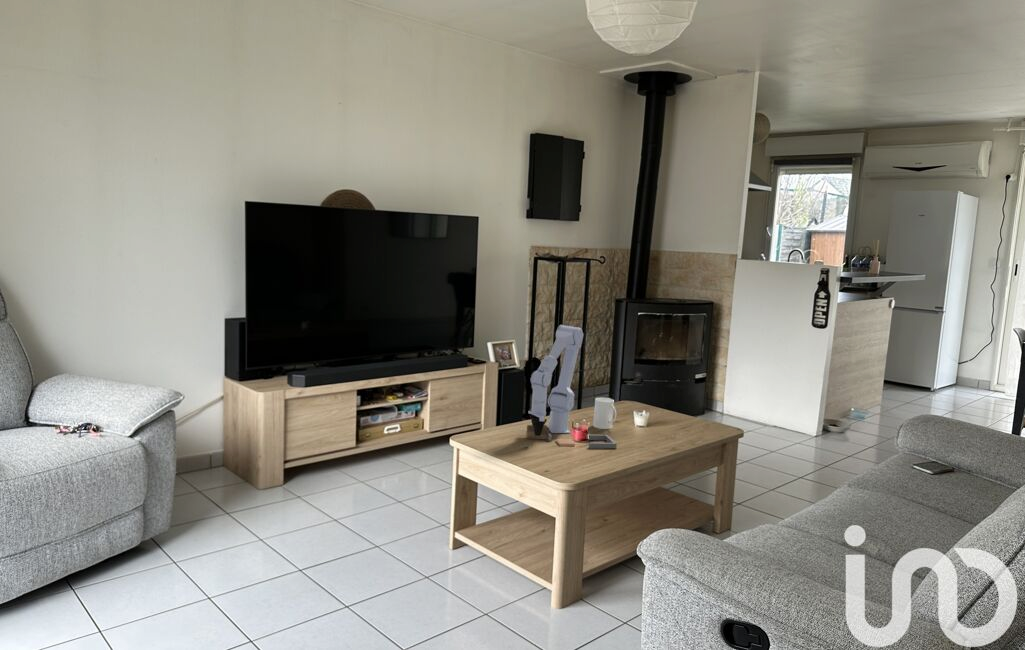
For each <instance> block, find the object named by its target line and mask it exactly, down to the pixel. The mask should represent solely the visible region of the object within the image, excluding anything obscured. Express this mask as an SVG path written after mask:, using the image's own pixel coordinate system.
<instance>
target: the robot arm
mask: <svg viewBox="0 0 1025 650" xmlns="http://www.w3.org/2000/svg"><path fill="white" fill-rule="evenodd" d="M584 335H585V334H584V332H583V329H582V328H581V327H577V326H570V325H564V324H560V325H558V327H557V329H556V331H555V340H554V343H553V345H552V348H551V349H550V351H549V353H548V355H545V356H544V358H543V359H542V360H541V363H540V365H539V366H538V368H537V370H535V371H533V372H532V373H531V377H530V384H531V389H532V397H531V409H530V410H528V414H530V415H529V417H530V420H531V425H534V431H535V435H536V436H540V435H541V432H542V429H543V426H544V425H546V423H547V421H548V420H547V418H546V415H547V411H546V410H547V404H548V406H549V407H550V412H549V422H548V425H547V426H548V428H549V429H548V431H550V432H551V434H571V431H570V430H569V429H568V427H569V419H570V417H569V415H570V412H571V410H572V409H573V408H574V406H575V393H574V391H573V390H572V389H571V386H572V385H571V384H572V380H573V376H574V372H575V368H576V362H577V358H578V354H579V350H580V349H581V348H582V344H583V339H584ZM564 349H565V352H564V357H563V361H562V365H561V371H560V373H559V378H558V384H557V385H556V386H555V387H553V388H552V389H551V392H550V394H549V395H548V387H549V386H550V384H551V382H552V377H553V372H554V370H555V368H556V367H557V365H558V360H557V359H558V358H559V357H560V355H561V354H562V352H563V350H564ZM547 397H548V398H547Z"/></svg>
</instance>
